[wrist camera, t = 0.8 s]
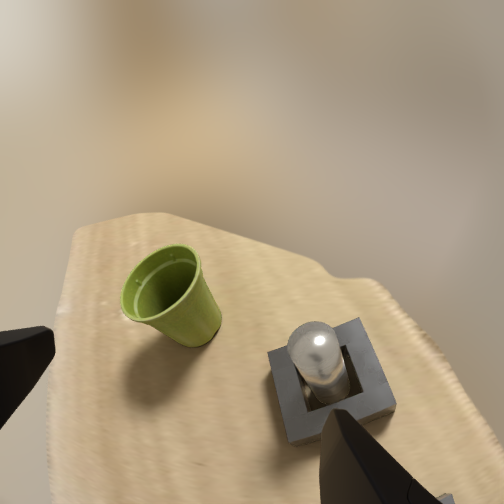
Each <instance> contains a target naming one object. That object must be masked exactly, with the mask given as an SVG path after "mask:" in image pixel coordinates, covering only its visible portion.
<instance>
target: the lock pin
mask: <svg viewBox="0 0 504 504" xmlns="http://www.w3.org/2000/svg"><path fill="white" fill-rule="evenodd" d="M287 350H288V354H289V356H290V358H291V359H292V361H293V362H294V364H295V365H296V367H297V368H298V370H299V372H300V373H301V375H302V376H303V378H304V379H305V381H306V382H307V384H308V385H309V387H310V388H311V390H312V391H313V393H314V395H315V396H316V398H317V399H318V400H319V401H320V402H322V403H324V404H334V403H337V402H339V401H342V400H344V399H345V398H346V396H347V395H348V393H349V390H350V382H349V378H348V374H347V371H346V367H345V364H344V360H343V357H342V353H341V350H340V346H339V343H338V340H337V336H336V333H335V331H334V330H333V329H332V328H331V327H330V326H329V325H327V324H325V323H323V322H316V321H314V322H308V323H305V324H303V325H301V326H299V327H298V328H297V329H296V330H294V332H293V333H292V334H291V336H290V338H289V340H288V344H287Z"/></svg>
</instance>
